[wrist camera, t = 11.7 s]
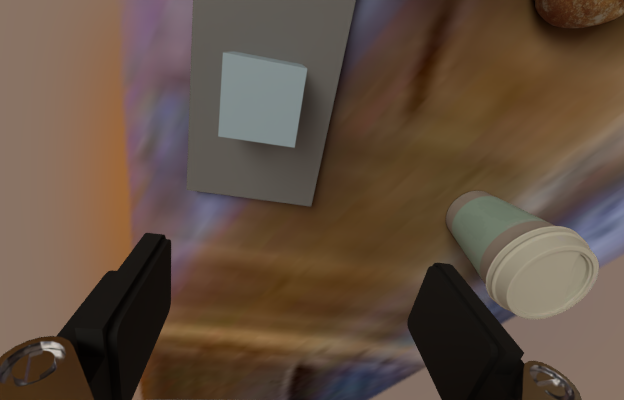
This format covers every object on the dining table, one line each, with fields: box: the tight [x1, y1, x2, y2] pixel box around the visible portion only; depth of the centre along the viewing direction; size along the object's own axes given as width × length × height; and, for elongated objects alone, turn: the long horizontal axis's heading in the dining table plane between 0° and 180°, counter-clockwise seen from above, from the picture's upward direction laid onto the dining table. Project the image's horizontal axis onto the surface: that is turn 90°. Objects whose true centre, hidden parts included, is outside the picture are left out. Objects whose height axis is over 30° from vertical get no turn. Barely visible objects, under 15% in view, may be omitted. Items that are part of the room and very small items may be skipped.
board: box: [187, 0, 356, 206], centre depth 27 cm, size 20×12×2 cm, turn 169°
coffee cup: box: [446, 191, 599, 319], centre depth 31 cm, size 8×8×12 cm
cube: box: [218, 51, 307, 148], centre depth 24 cm, size 6×6×6 cm
